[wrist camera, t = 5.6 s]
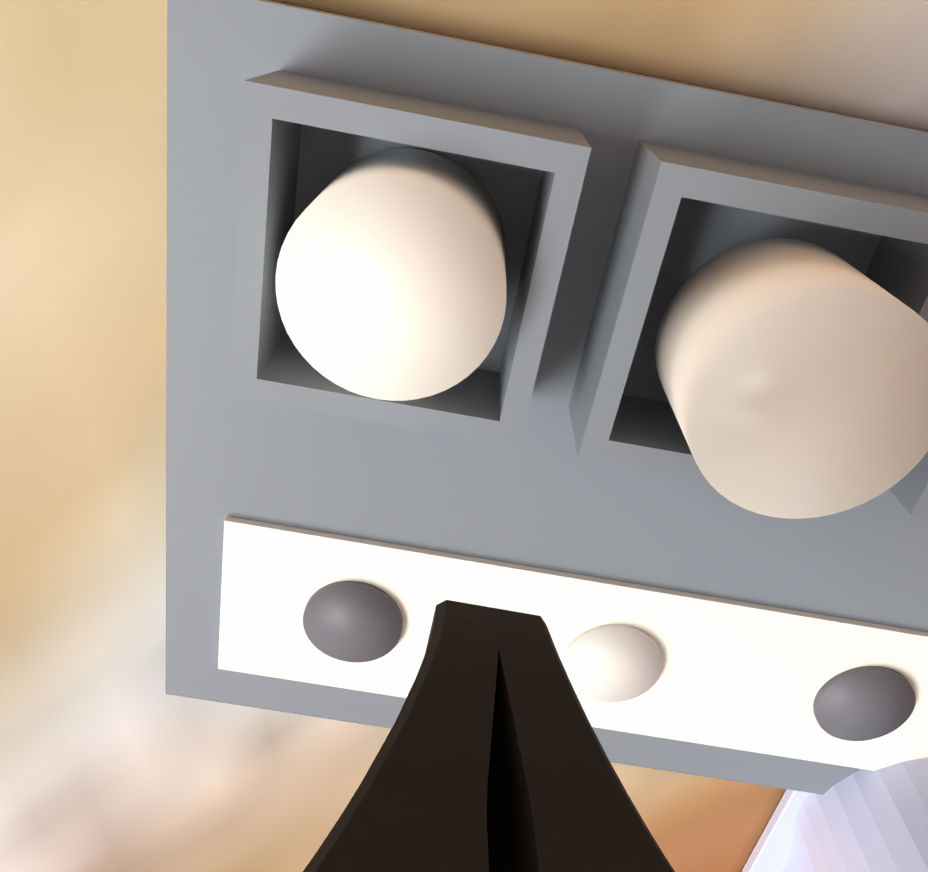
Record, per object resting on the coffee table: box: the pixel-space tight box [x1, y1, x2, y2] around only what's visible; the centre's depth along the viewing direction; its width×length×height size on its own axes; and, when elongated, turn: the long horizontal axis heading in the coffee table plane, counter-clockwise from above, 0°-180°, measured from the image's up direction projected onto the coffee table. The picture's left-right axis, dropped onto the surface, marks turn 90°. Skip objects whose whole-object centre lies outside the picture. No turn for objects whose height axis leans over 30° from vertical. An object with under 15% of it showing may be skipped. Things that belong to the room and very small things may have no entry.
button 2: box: [276, 148, 506, 401], centre depth 15 cm, size 4×4×3 cm
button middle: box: [655, 238, 928, 519], centre depth 14 cm, size 4×4×3 cm
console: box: [166, 0, 928, 795], centre depth 19 cm, size 18×24×3 cm
